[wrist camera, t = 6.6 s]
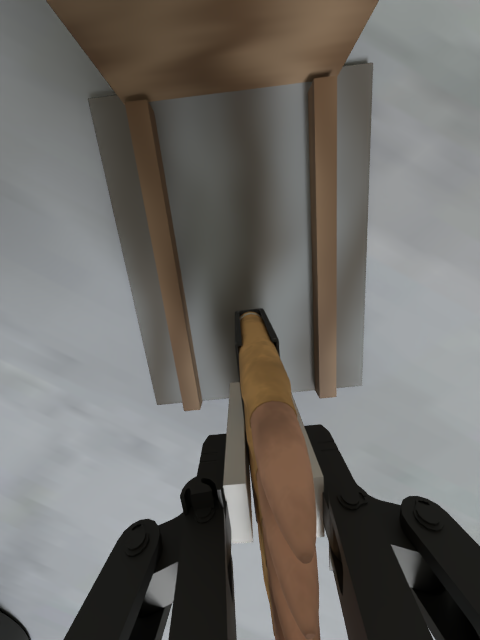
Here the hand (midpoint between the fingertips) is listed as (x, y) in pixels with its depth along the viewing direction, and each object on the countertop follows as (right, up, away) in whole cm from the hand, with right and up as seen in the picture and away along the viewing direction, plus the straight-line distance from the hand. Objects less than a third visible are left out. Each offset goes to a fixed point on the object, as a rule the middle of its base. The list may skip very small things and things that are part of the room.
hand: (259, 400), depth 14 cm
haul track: (-1, +10, +1) cm, 11 cm away
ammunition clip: (0, 0, +2) cm, 2 cm away
